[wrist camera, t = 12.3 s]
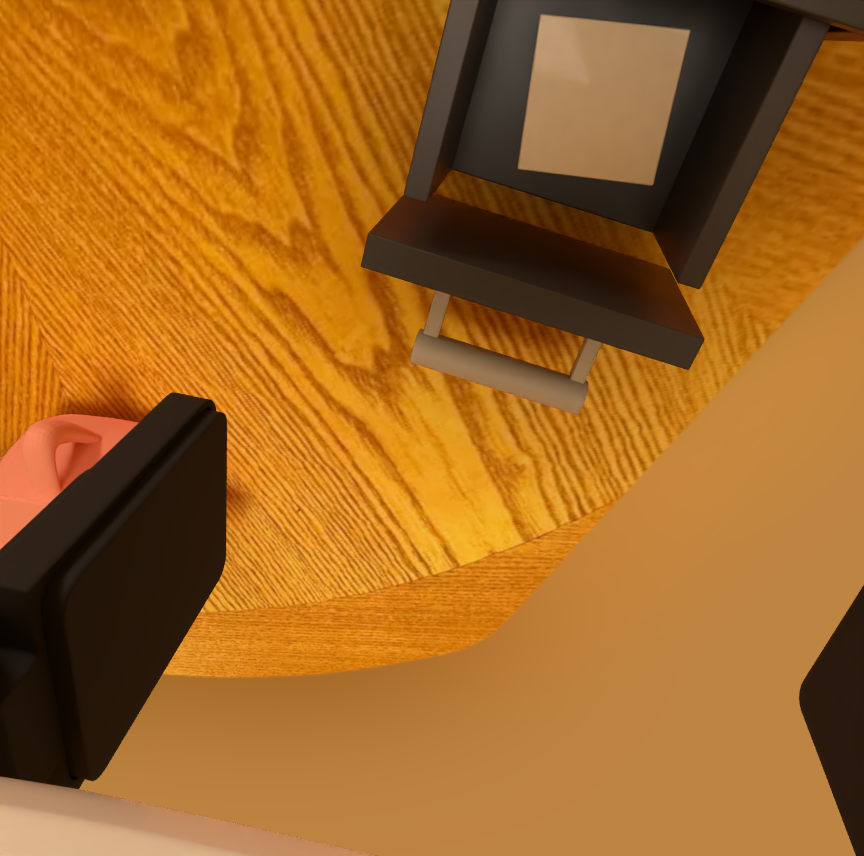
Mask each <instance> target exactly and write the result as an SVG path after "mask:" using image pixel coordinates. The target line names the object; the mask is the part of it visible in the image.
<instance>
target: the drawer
mask: <svg viewBox="0 0 864 856" xmlns="http://www.w3.org/2000/svg"><path fill="white" fill-rule="evenodd" d="M540 14H550V15H560V16H569V17H579V18H588V19H598V20H607V21H617V22H627V23H636V24H646V25H655V26H665V27H674V28H684V29H690V36H689V40H688V44H687V48H686V52H685V56H684V60H683V64H682V69H681V73H680V77H679V81H678V85H677V89H676V93H675V97H674V101H673V106H672V110H671V114H670V118H669V122H668V126H667V130H666V134H665V139H664V143H663V147H662V151H661V155H660V159H659V163H658V167H657V171H656V176H655V180H654V184H653V185H651V186H650V185H642V184H634V183H626V182H618V181H610V180H602V179H594V178H586V177H577V176H569V175H561V174H553V173H545V172H537V171H529V170H521V169H518V160H519V153H520V146H521V140H522V133H523V126H524V119H525V112H526V106H527V99H528V92H529V85H530V78H531V71H532V65H533V58H534V51H535V44H536V37H537V30H538V24H539V17H540ZM830 26H831V25H830V24H826V23H823V22H820V21H817V20H814V19H811V18H808V17H804V16H801V15H798V14H795V13H792V12H789V11H786V10H783V9H779V8H776V7H773V6H770V5H767V4H764V3H761V2H758V1H754V0H451V1H450V5H449V10H448V14H447V18H446V22H445V26H444V30H443V34H442V38H441V43H440V47H439V51H438V55H437V59H436V63H435V67H434V71H433V75H432V80H431V84H430V88H429V92H428V96H427V100H426V104H425V108H424V113H423V117H422V121H421V125H420V129H419V133H418V137H417V141H416V146H415V150H414V154H413V158H412V162H411V166H410V170H409V174H408V178H407V183H406V187H405V191H404V195H403V196H402V197H401V198H400V199H399V200H398V201H397V203H396V204H395V205H394V206H393V207H392V208H391V209H390V210H389V211H388V212H387V213H386V215H385V216H384V217H383V218H382V219H381V220H380V221H379V222H378V223H377V224H376V225H375V227H374V228H373V229H372V230H371V231H370V232H369V233H368V236H367V241H366V245H365V249H364V254H363V258H362V263H361V267H364V268H367V269H370V270H373V271H376V272H379V273H383V274H386V275H389V276H392V277H395V278H398V279H402V280H405V281H408V282H411V283H414V284H417V285H421V286H424V287H427V288H430V289H433V290H435V293H434V297H433V300H432V304H431V307H430V311H429V314H428V318H427V321H426V325H425V328H424V330H423V329H420V330H419V331H418V334H417V337H416V340H415V343H414V346H413V350H412V353H411V357H410V362H411V363H414V364H417V365H420V366H423V367H427V368H430V369H433V370H436V371H439V372H442V373H446V374H449V375H452V376H455V377H458V378H461V379H465V380H468V381H471V382H474V383H477V384H480V385H484V386H487V387H490V388H493V389H496V390H500V391H503V392H506V393H509V394H512V395H515V396H519V397H522V398H525V399H528V400H531V401H534V402H538V403H541V404H544V405H547V406H550V407H554V408H557V409H560V410H563V411H566V412H569V413H573V414H578V413H579V412H580V410H581V408H582V406H583V404H584V401H585V398H586V395H587V391H588V382H587V381H586V379H587V376H588V374H589V372H590V370H591V367H592V365H593V363H594V360H595V358H596V356H597V353H598V351H599V349H600V347H601V344H602V343H604V344H607V345H611V346H614V347H617V348H620V349H623V350H626V351H630V352H633V353H636V354H639V355H642V356H645V357H649V358H652V359H655V360H658V361H661V362H664V363H668V364H671V365H674V366H677V367H680V368H684V369H687V370H689V369H690V367H691V365H692V363H693V361H694V359H695V357H696V355H697V353H698V351H699V349H700V348H701V346H702V344H703V342H704V337H703V335H702V333H701V331H700V329H699V327H698V325H697V323H696V321H695V319H694V317H693V315H692V313H691V311H690V309H689V307H688V305H687V303H686V301H685V299H684V297H683V295H682V293H681V291H680V289H679V287H678V285H677V283H676V281H675V279H674V277H673V275H672V273H671V271H670V269H667V268H664V267H661V266H658V265H655V264H651V263H648V262H645V261H642V260H639V259H636V258H633V257H629V256H626V255H623V254H620V253H617V252H614V251H610V250H607V249H604V248H601V247H598V246H595V245H591V244H588V243H585V242H582V241H579V240H576V239H572V238H569V237H566V236H563V235H560V234H557V233H554V232H550V231H547V230H544V229H541V228H538V227H535V226H531V225H528V224H525V223H522V222H519V221H516V220H512V219H509V218H506V217H503V216H500V215H497V214H494V213H490V212H487V211H484V210H481V209H478V208H475V207H471V206H468V205H465V204H462V203H459V202H456V201H452V200H449V199H446V198H443V197H440V196H437V195H434V194H433V193H434V192H435V191H436V189H437V188H438V187H439V185H440V184H441V183H442V181H443V180H444V179H445V177H446V176H447V174H448V173H449V172H450V170H451V169H453V170H456V171H459V172H463V173H466V174H469V175H472V176H475V177H478V178H481V179H485V180H488V181H491V182H494V183H497V184H500V185H504V186H507V187H510V188H513V189H516V190H519V191H523V192H526V193H529V194H532V195H535V196H538V197H541V198H545V199H548V200H551V201H554V202H557V203H560V204H564V205H567V206H570V207H573V208H576V209H579V210H582V211H586V212H589V213H592V214H595V215H598V216H601V217H605V218H608V219H611V220H614V221H617V222H620V223H623V224H627V225H630V226H633V227H636V228H639V229H642V230H646V231H649V232H652V233H653V235H654V236H655V238H656V240H657V242H658V244H659V246H660V248H661V250H662V252H663V254H664V256H665V258H666V260H667V262H668V264H669V266H670V268H671V270H672V272H673V274H674V276H675V278H676V280H677V282H678V283H681V284H684V285H687V286H690V287H694V288H697V289H700V288H701V286H702V284H703V282H704V280H705V278H706V276H707V274H708V272H709V270H710V268H711V266H712V264H713V262H714V260H715V258H716V256H717V254H718V252H719V250H720V248H721V246H722V244H723V242H724V240H725V238H726V236H727V234H728V232H729V230H730V228H731V226H732V224H733V222H734V220H735V218H736V216H737V214H738V212H739V210H740V208H741V206H742V204H743V202H744V200H745V198H746V196H747V193H748V191H749V189H750V187H751V185H752V183H753V181H754V179H755V177H756V175H757V173H758V171H759V169H760V167H761V165H762V163H763V161H764V159H765V157H766V155H767V153H768V151H769V149H770V147H771V145H772V143H773V141H774V139H775V137H776V135H777V133H778V131H779V129H780V127H781V125H782V123H783V121H784V119H785V117H786V115H787V113H788V111H789V109H790V107H791V105H792V103H793V101H794V99H795V97H796V95H797V93H798V91H799V89H800V87H801V85H802V83H803V81H804V79H805V77H806V74H807V72H808V70H809V68H810V66H811V64H812V62H813V60H814V58H815V56H816V54H817V52H818V50H819V48H820V46H821V44H822V42H823V40H824V38H825V36H826V34H827V32H828V30H829V28H830ZM451 295H452V296H455V297H459V298H462V299H465V300H468V301H471V302H474V303H478V304H481V305H484V306H487V307H490V308H493V309H497V310H500V311H503V312H506V313H509V314H512V315H516V316H519V317H522V318H525V319H528V320H531V321H535V322H538V323H541V324H544V325H547V326H550V327H554V328H557V329H560V330H563V331H566V332H569V333H573V334H576V335H579V336H582V337H585V338H584V341H583V343H582V346H581V348H580V350H579V353H578V355H577V357H576V360H575V362H574V365H573V367H572V369H571V372H570V376H569V375H566V374H563V373H560V372H557V371H554V370H550V369H547V368H544V367H541V366H538V365H534V364H531V363H528V362H525V361H522V360H519V359H515V358H512V357H509V356H506V355H503V354H500V353H496V352H493V351H490V350H487V349H484V348H481V347H477V346H474V345H471V344H468V343H465V342H462V341H458V340H455V339H452V338H449V337H446V336H443V335H439V333H440V330H441V326H442V323H443V320H444V316H445V313H446V310H447V306H448V303H449V300H450V296H451Z"/></svg>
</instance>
